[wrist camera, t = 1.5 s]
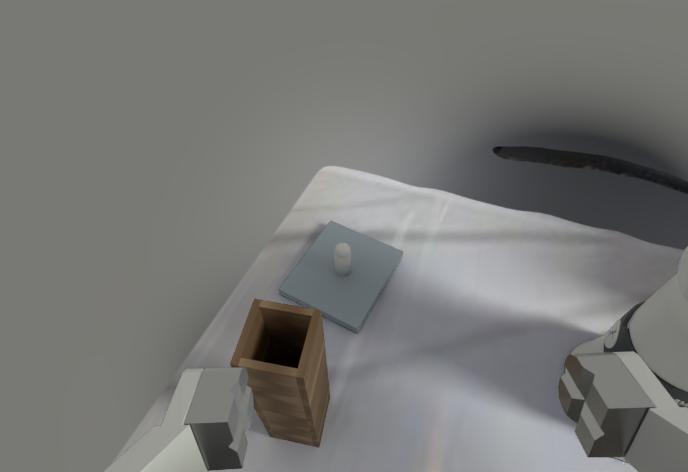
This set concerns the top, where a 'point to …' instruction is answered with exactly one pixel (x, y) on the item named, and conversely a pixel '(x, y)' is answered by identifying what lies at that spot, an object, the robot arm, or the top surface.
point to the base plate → (337, 288)
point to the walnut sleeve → (286, 369)
